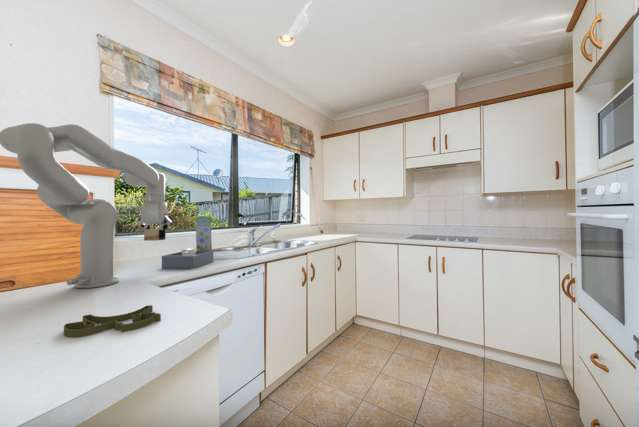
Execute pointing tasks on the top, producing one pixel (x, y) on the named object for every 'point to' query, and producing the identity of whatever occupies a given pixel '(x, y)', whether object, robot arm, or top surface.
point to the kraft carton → (152, 235)
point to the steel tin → (189, 252)
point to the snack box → (203, 233)
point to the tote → (186, 260)
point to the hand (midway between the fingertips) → (155, 238)
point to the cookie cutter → (111, 323)
